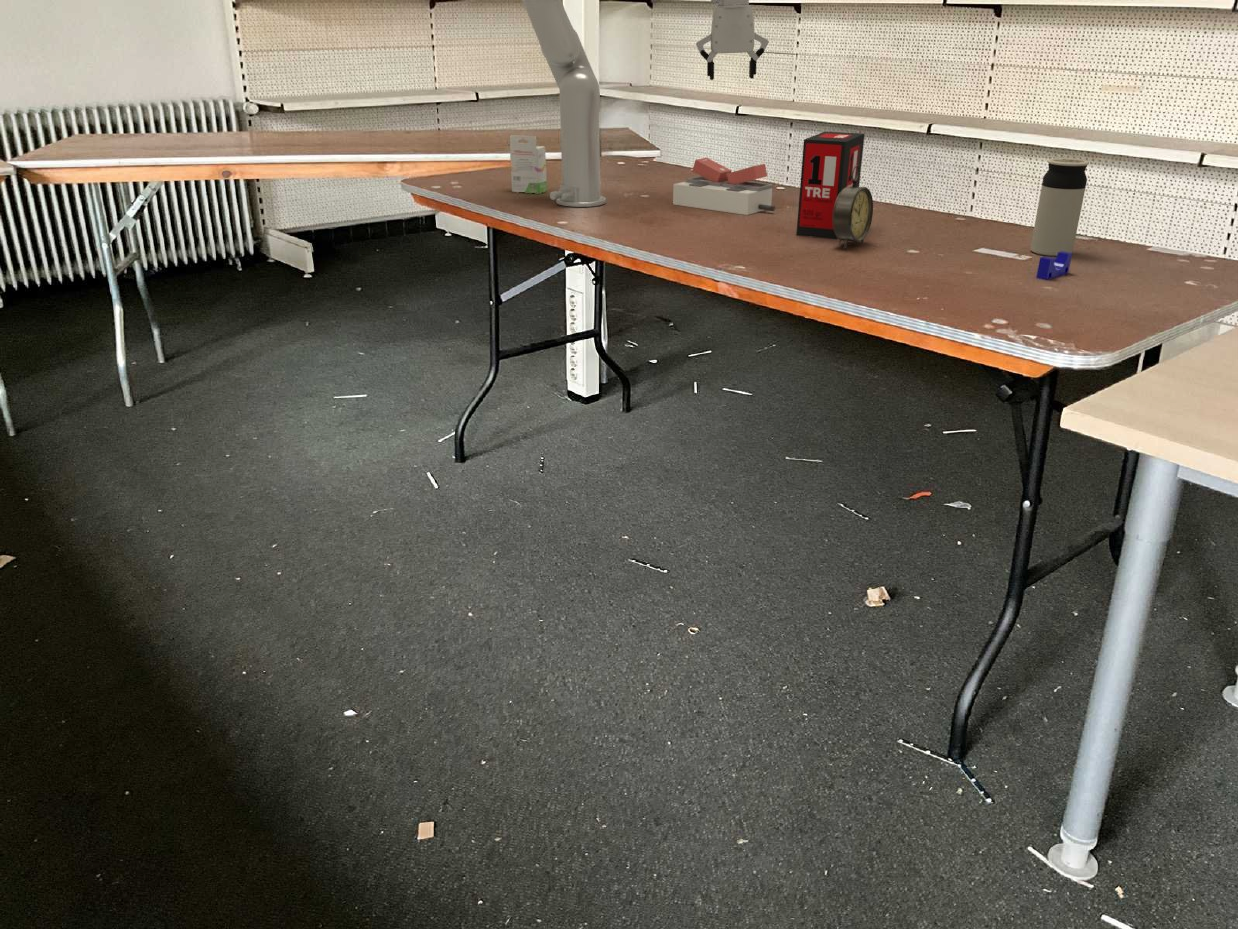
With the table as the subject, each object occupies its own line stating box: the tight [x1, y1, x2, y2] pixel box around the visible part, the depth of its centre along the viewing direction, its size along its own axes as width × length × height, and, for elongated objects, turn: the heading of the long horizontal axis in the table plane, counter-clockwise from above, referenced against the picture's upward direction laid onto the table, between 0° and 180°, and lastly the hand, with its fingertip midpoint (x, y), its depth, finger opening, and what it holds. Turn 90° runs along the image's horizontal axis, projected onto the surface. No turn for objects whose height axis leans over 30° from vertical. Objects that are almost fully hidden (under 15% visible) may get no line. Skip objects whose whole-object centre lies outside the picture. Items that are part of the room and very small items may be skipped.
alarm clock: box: [833, 165, 874, 251], centre depth 200 cm, size 11×5×16 cm, turn 143°
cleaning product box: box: [795, 131, 866, 240], centre depth 213 cm, size 16×9×20 cm, turn 154°
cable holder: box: [1035, 251, 1073, 281], centre depth 180 cm, size 8×4×4 cm, turn 130°
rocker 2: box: [727, 163, 768, 185], centre depth 238 cm, size 5×8×3 cm, turn 51°
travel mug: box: [1029, 157, 1090, 258], centre depth 194 cm, size 8×8×18 cm
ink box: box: [509, 134, 548, 195], centre depth 259 cm, size 9×5×15 cm, turn 65°
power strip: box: [672, 175, 776, 216], centre depth 241 cm, size 11×26×6 cm, turn 51°
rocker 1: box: [692, 157, 733, 183], centre depth 244 cm, size 5×8×3 cm, turn 51°
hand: (731, 78), depth 236 cm, fingers open, 9 cm apart
